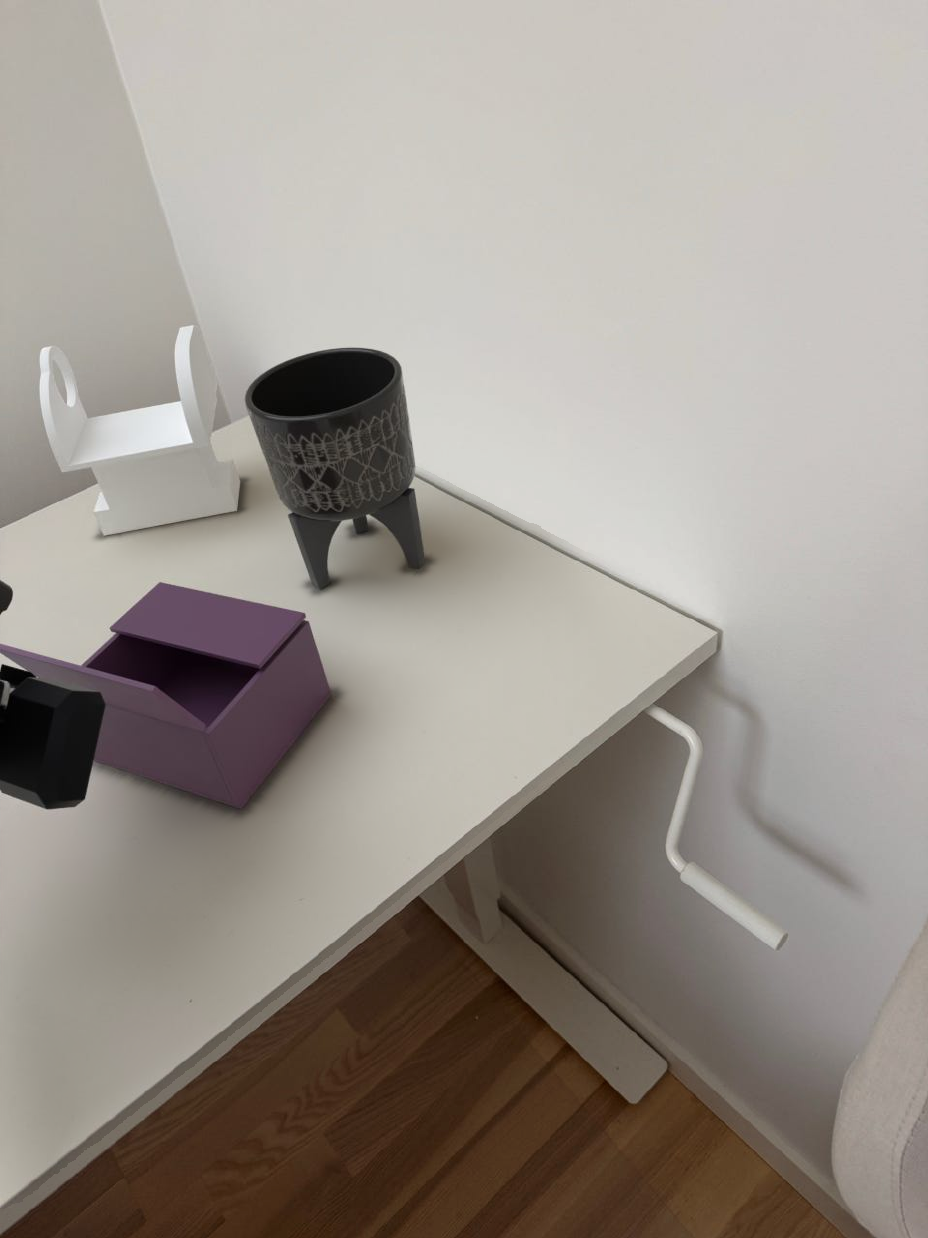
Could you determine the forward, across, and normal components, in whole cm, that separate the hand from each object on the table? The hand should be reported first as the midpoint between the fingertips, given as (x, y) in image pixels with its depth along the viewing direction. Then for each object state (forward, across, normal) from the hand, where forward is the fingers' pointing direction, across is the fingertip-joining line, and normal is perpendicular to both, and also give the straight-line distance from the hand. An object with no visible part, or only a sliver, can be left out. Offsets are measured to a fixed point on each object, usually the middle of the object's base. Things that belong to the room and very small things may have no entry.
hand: (75, 714), depth 61 cm
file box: (+14, 0, +1) cm, 14 cm away
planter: (+30, 0, -15) cm, 34 cm away
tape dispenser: (+33, +26, -17) cm, 45 cm away
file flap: (+1, 0, -2) cm, 3 cm away
